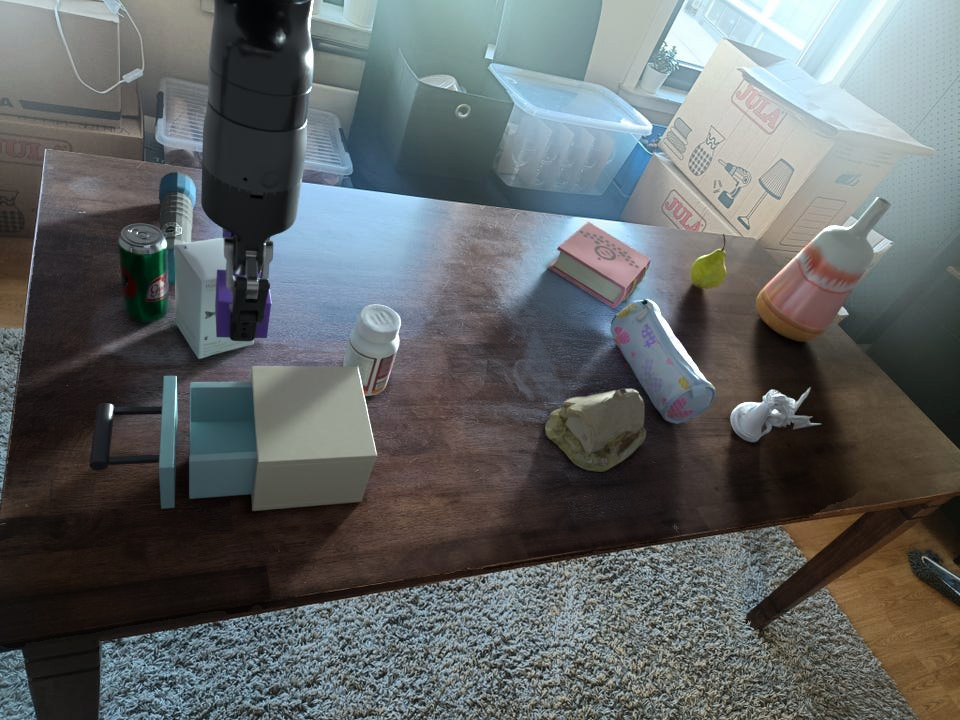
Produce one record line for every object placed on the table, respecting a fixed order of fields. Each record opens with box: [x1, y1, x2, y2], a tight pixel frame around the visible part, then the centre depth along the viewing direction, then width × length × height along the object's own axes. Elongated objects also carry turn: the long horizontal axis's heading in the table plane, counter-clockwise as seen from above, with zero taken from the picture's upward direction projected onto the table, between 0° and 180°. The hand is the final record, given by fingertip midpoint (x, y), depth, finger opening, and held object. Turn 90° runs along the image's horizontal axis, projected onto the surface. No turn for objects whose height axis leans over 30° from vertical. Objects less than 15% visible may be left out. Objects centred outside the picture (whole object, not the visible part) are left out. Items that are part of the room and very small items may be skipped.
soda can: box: [117, 222, 170, 323], centre depth 76 cm, size 5×5×12 cm
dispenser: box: [249, 365, 378, 512], centre depth 69 cm, size 12×13×9 cm
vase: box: [755, 196, 892, 343], centre depth 120 cm, size 14×14×30 cm
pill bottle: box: [342, 303, 402, 397], centre depth 80 cm, size 6×6×11 cm
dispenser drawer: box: [89, 375, 257, 510], centre depth 64 cm, size 16×11×7 cm
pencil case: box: [609, 298, 717, 425], centre depth 100 cm, size 21×9×10 cm, turn 16°
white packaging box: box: [174, 236, 261, 360], centre depth 77 cm, size 7×7×13 cm
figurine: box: [729, 386, 821, 443], centre depth 96 cm, size 11×8×12 cm
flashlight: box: [158, 171, 197, 286], centre depth 89 cm, size 5×22×5 cm, turn 17°
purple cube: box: [215, 270, 272, 339], centre depth 60 cm, size 4×4×4 cm
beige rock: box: [544, 387, 647, 473], centre depth 86 cm, size 14×11×10 cm
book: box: [547, 221, 652, 310], centre depth 119 cm, size 14×15×5 cm
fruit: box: [689, 233, 727, 290], centre depth 127 cm, size 7×7×12 cm
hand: (240, 319), depth 61 cm, fingers closed on purple cube, 4 cm apart
